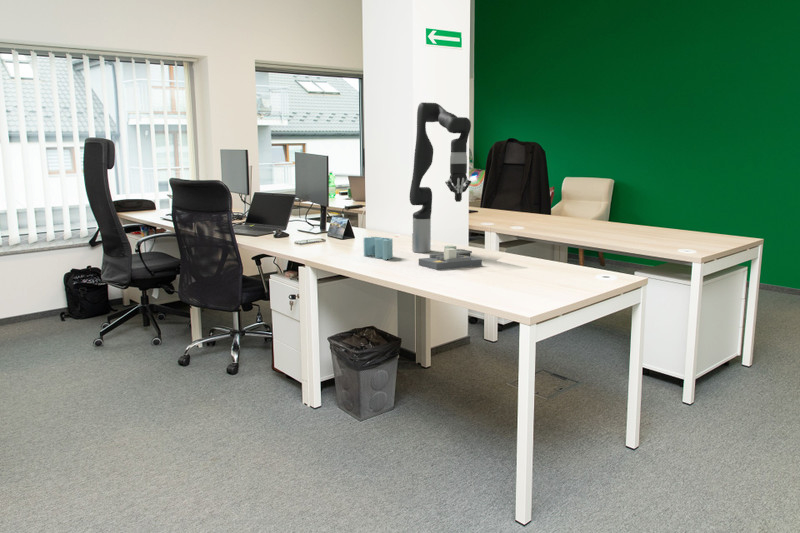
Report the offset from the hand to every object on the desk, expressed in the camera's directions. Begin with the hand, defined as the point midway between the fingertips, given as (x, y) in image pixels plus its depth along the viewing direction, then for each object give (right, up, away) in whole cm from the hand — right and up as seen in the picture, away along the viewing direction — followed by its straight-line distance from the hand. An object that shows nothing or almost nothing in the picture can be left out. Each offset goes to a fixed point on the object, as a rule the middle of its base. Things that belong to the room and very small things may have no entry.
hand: (458, 201), depth 286 cm
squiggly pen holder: (-37, -25, +31) cm, 54 cm away
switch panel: (-3, -29, +3) cm, 29 cm away
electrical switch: (-1, -26, +22) cm, 34 cm away
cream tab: (-4, -27, -3) cm, 27 cm away
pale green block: (-3, -25, +8) cm, 26 cm away
